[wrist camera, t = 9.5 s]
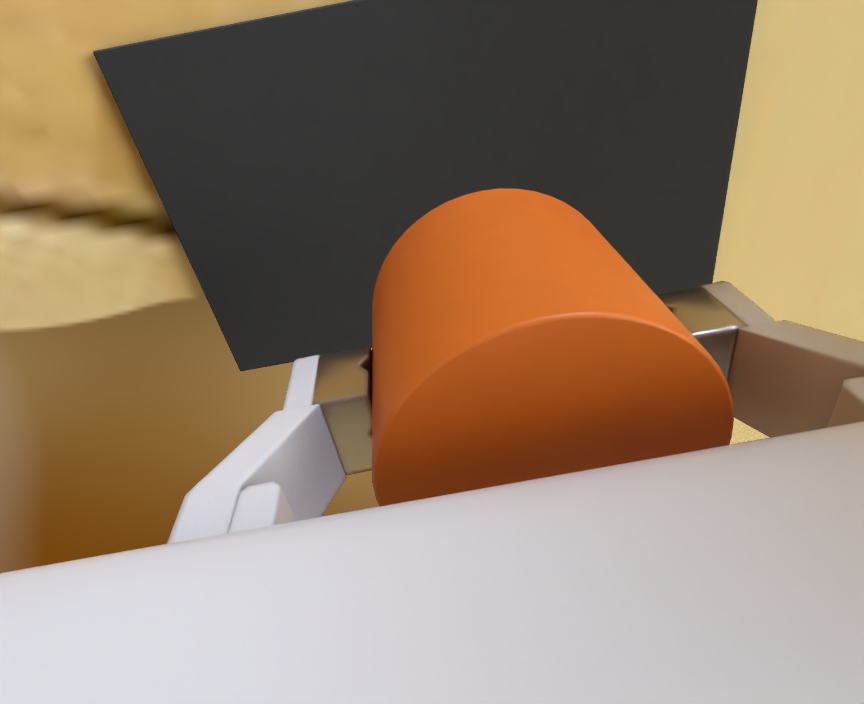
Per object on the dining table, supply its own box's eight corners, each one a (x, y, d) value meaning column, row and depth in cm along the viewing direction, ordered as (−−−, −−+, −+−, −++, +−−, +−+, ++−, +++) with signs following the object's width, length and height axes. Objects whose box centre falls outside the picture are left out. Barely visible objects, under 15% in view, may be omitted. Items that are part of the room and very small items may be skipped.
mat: (762, -81, 16) (771, -82, 15) (707, 281, 23) (712, 286, 22) (97, 50, 16) (92, 52, 16) (241, 366, 23) (240, 371, 23)
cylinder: (617, 164, 11) (770, 277, 7) (608, 379, 14) (708, 547, 10) (345, 214, 11) (327, 358, 7) (398, 417, 14) (408, 599, 10)
